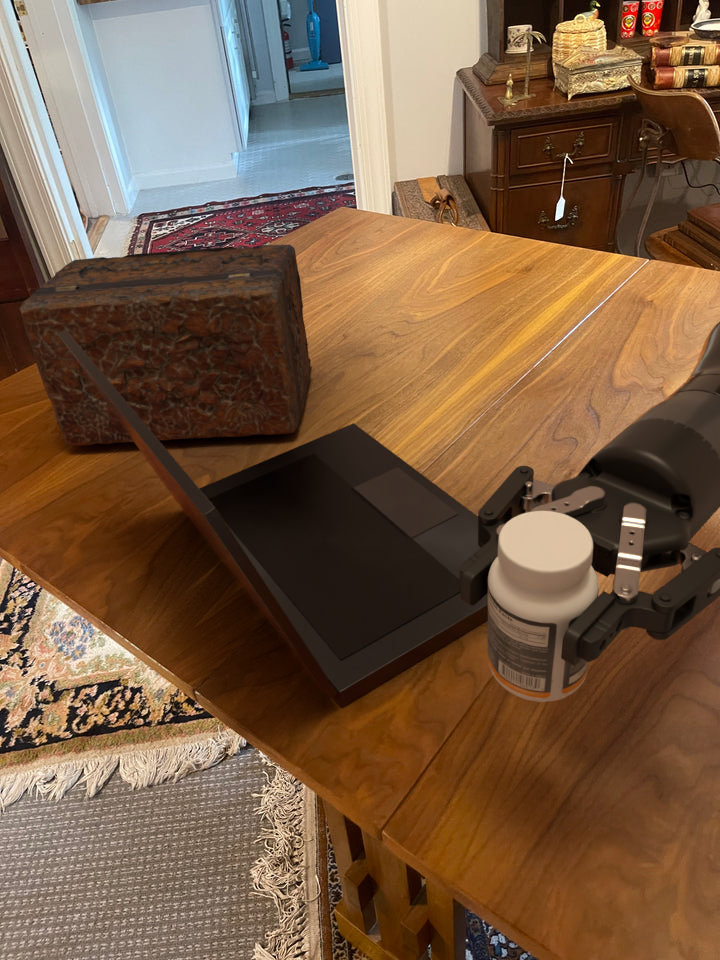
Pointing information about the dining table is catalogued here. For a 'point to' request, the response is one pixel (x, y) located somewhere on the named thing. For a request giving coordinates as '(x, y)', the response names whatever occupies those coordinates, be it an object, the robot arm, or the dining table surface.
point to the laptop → (355, 554)
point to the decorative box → (175, 343)
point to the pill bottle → (538, 603)
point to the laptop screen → (200, 514)
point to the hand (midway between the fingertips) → (515, 619)
